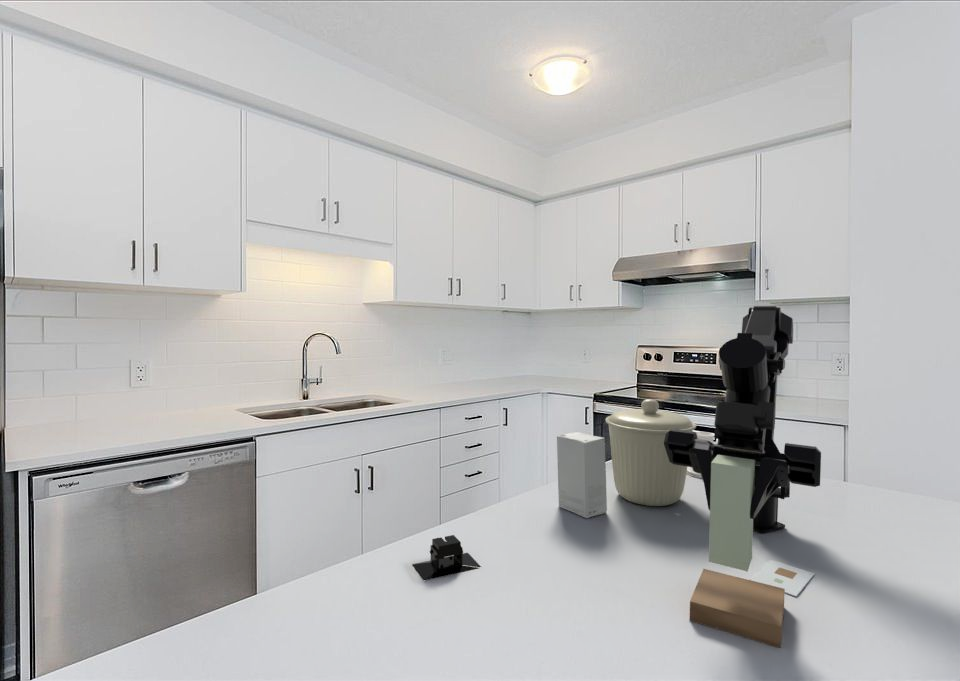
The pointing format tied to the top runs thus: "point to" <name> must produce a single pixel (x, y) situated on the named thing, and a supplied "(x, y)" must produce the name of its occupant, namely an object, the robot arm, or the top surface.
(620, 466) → the canister
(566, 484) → the skincare box
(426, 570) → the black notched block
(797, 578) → the blueprint card
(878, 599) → the top surface
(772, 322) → the robot arm
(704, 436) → the vase
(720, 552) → the pillar
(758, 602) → the foundation slab
